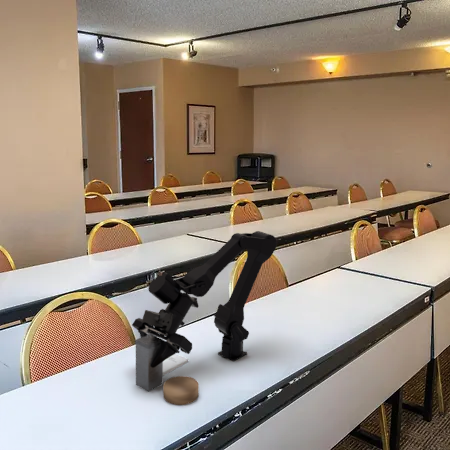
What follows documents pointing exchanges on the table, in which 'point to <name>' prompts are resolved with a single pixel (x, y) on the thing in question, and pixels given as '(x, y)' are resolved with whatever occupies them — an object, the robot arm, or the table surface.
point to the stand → (180, 390)
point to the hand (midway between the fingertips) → (144, 363)
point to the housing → (148, 363)
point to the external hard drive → (173, 363)
